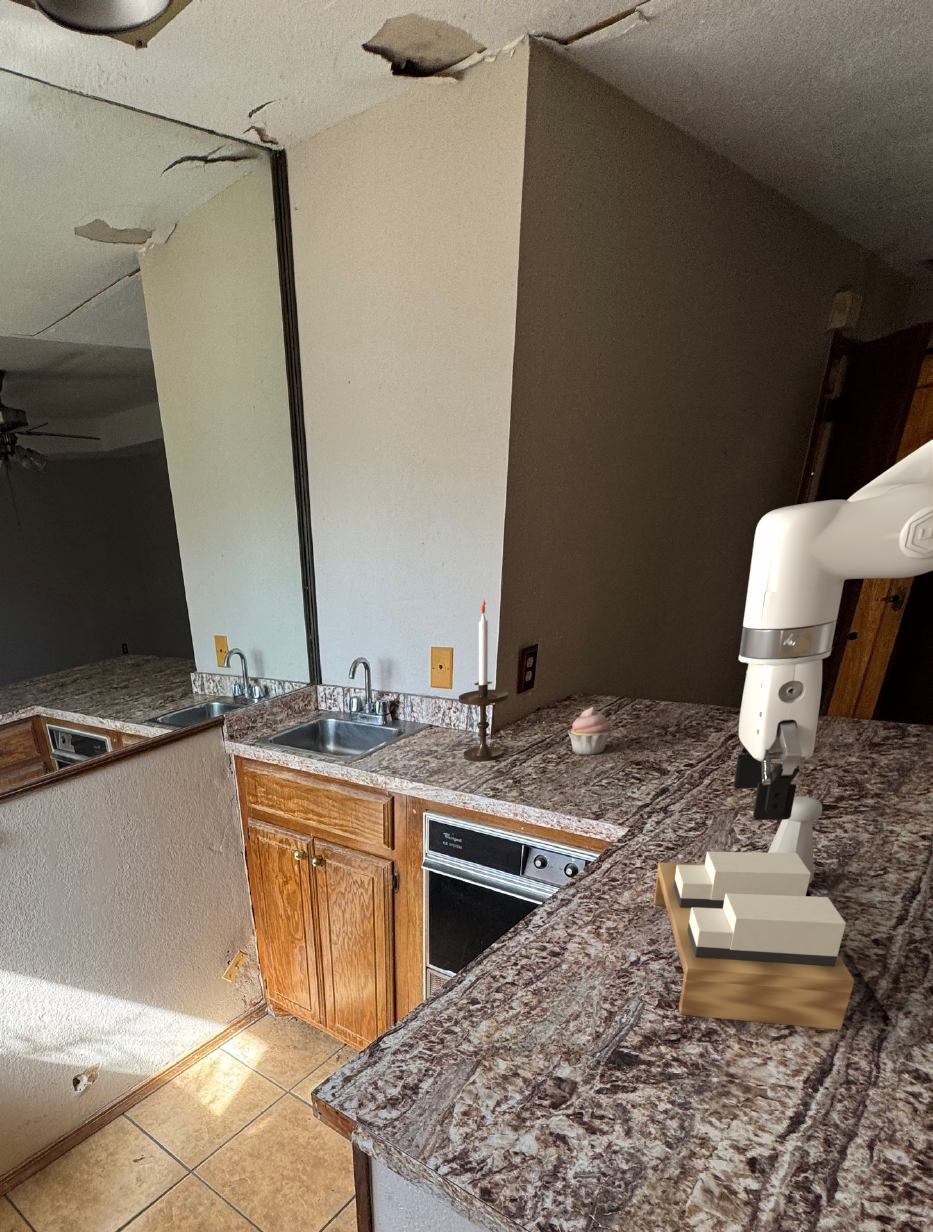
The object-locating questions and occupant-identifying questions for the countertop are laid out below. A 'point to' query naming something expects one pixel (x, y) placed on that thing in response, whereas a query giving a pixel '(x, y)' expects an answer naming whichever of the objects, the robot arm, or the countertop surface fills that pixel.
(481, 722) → the candlestick
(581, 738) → the cupcake
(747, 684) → the robot arm
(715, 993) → the shoe shelf
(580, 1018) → the countertop surface
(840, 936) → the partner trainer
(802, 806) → the salt shaker
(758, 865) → the trainer
